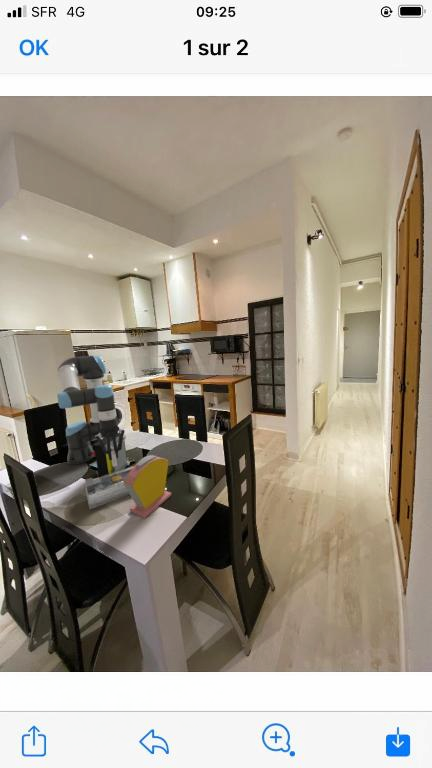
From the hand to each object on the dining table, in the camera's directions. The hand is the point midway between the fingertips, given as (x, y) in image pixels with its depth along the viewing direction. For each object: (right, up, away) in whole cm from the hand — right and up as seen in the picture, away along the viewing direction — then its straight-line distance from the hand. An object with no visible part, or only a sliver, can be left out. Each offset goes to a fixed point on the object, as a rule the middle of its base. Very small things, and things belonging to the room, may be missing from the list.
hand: (114, 465), depth 119 cm
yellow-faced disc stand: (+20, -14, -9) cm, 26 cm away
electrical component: (-8, -11, +20) cm, 24 cm away
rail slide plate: (0, -13, +2) cm, 13 cm away
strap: (+2, -8, +2) cm, 9 cm away
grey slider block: (-8, -10, -4) cm, 13 cm away
